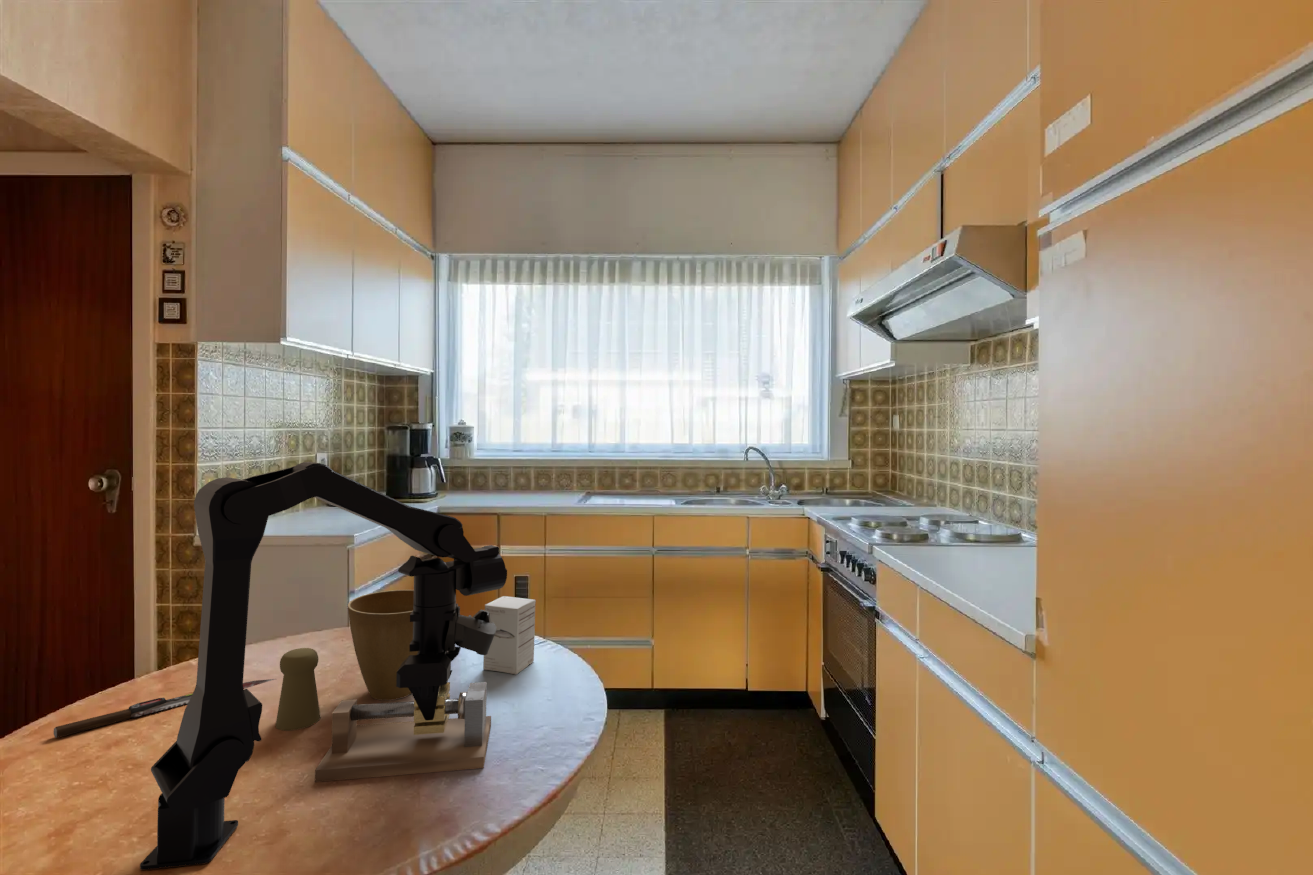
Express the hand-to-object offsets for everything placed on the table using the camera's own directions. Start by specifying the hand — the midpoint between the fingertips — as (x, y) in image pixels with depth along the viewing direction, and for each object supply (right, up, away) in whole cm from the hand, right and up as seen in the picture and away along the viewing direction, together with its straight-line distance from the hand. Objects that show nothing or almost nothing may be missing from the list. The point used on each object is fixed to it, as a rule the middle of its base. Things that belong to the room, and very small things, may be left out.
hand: (432, 710), depth 86 cm
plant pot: (-14, -5, +19) cm, 24 cm away
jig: (-3, -6, -1) cm, 6 cm away
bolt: (-2, -4, 0) cm, 5 cm away
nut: (0, -2, 0) cm, 2 cm away
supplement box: (+3, -6, +31) cm, 32 cm away
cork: (-24, -5, +8) cm, 26 cm away
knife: (-46, -5, +13) cm, 48 cm away
